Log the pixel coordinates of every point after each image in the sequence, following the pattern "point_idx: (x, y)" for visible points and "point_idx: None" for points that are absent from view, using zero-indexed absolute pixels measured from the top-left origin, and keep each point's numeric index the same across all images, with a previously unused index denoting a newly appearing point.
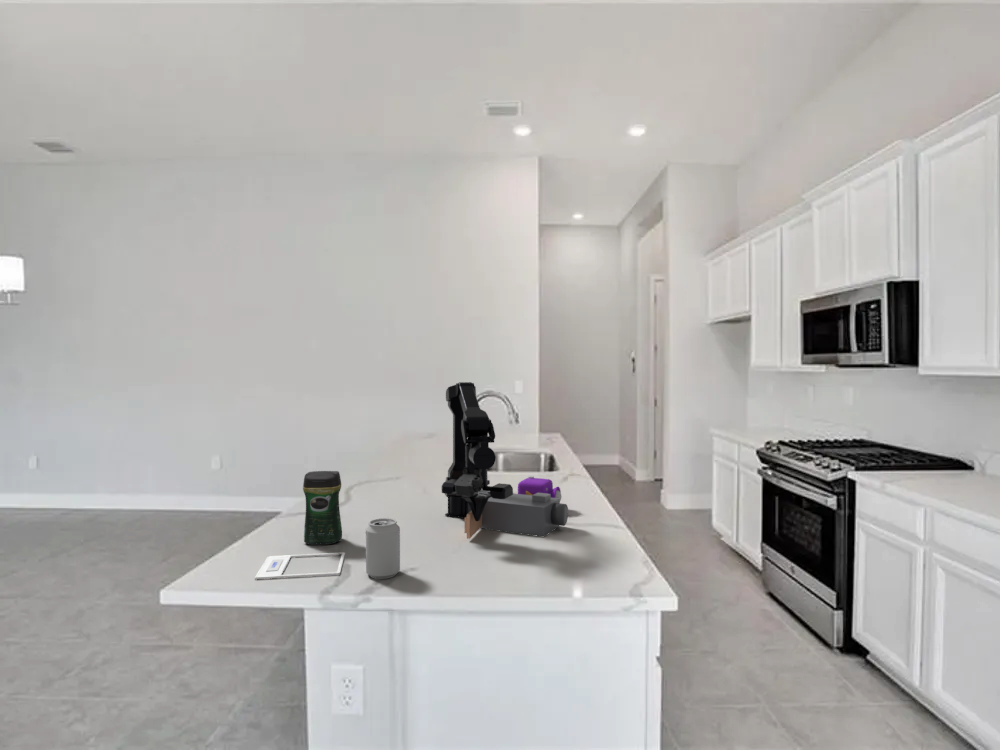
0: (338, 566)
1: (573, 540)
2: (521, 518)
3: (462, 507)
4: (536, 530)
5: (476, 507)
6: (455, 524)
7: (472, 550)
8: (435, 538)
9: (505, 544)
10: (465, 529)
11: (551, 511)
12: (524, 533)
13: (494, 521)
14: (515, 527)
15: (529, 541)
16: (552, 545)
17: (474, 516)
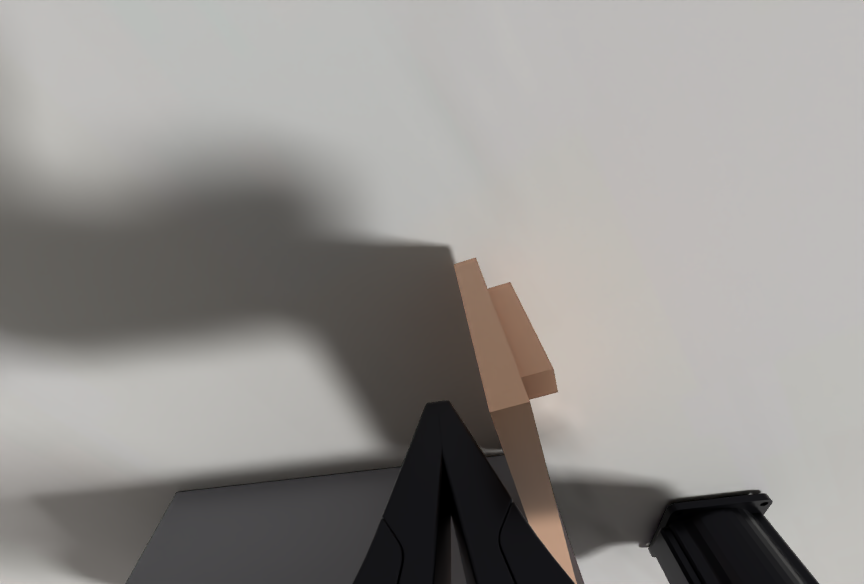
0: None
1: (40, 514)
2: (270, 571)
3: (709, 562)
4: (202, 517)
5: (424, 551)
6: (676, 440)
7: (293, 78)
8: (724, 187)
9: (220, 328)
10: (508, 300)
11: None
12: (279, 485)
13: None
14: (323, 504)
15: (168, 425)
16: (21, 433)
17: (458, 431)
